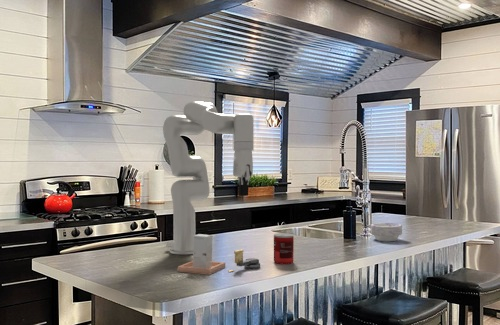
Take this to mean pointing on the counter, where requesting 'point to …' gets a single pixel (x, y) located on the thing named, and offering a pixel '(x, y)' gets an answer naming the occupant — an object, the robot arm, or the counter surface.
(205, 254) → the skincare box
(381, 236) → the paper bowls
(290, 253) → the canned food
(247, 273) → the counter surface
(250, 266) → the crank hub
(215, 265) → the tray
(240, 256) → the crank
